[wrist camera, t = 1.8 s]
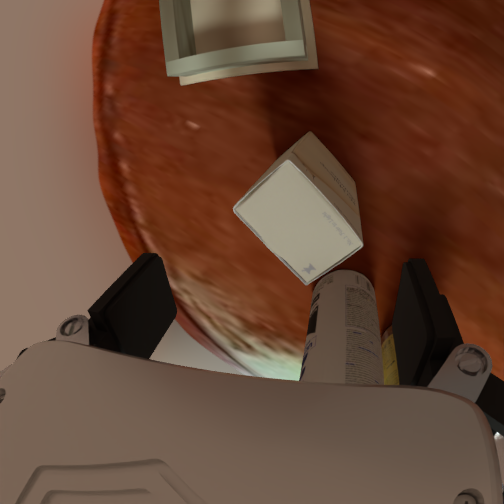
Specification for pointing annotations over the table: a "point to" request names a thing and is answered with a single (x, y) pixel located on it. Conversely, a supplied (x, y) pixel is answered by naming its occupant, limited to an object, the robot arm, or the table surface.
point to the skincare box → (305, 210)
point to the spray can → (343, 332)
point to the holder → (236, 37)
